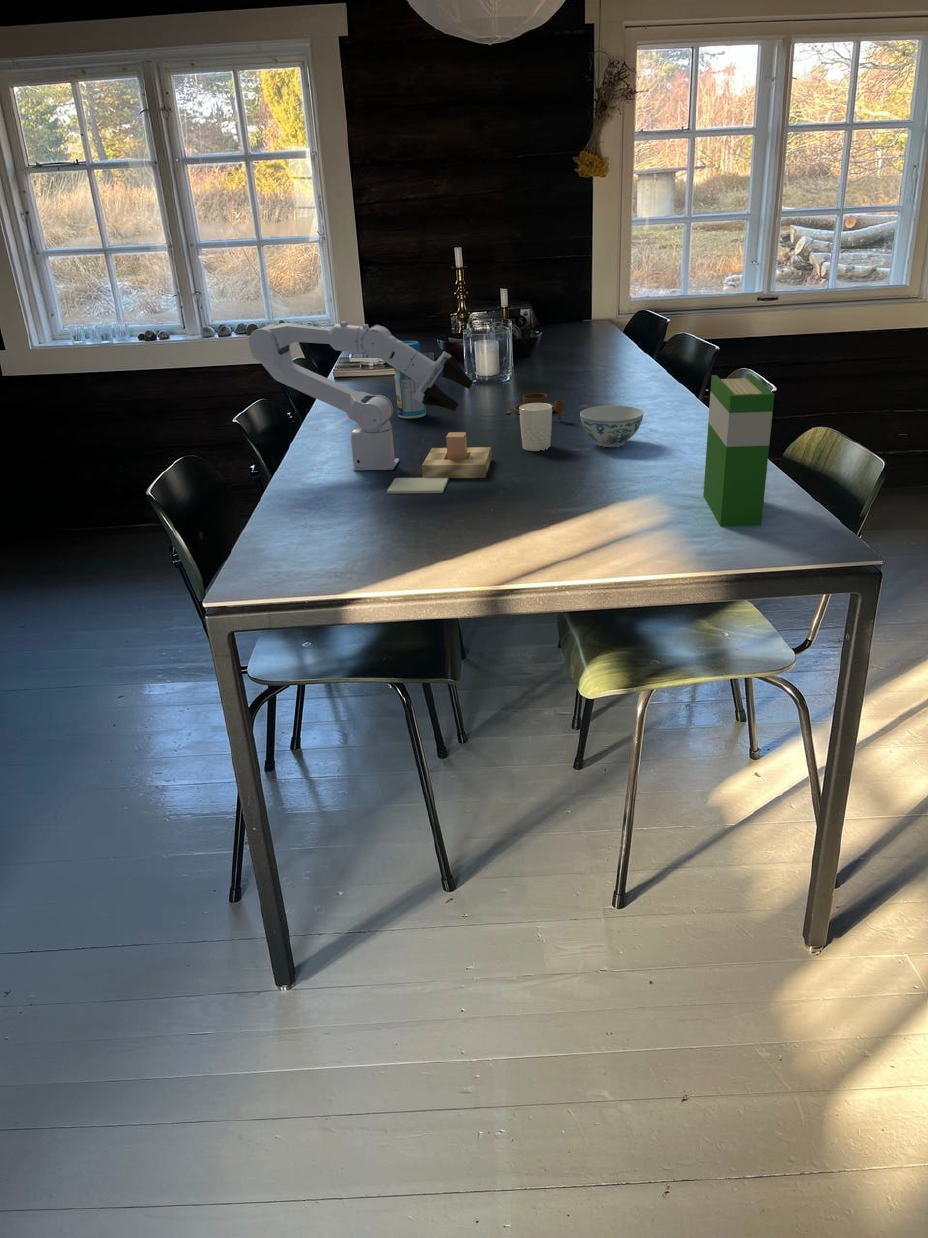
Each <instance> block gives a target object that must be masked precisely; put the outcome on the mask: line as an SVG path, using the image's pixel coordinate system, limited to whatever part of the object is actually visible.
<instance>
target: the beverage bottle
mask: <svg viewBox="0 0 928 1238" xmlns="http://www.w3.org/2000/svg"><path fill="white" fill-rule="evenodd" d="M401 341H402V340H401ZM402 342H404V343H405V344H407V345H408V346H410V347H412V348H413V349H415V350H416V351H418V352H419V353H421V352H420V343H419V341H416V340H415V341H414V340H405V341H404V340H403V341H402ZM393 371H394V377H393V380H394V383H395V384H394V385H395V392H396V402H397V403H396V407H397V416H398V418H401V419H418V418H422V417H424V416H426V415H427V405H424V404H423V403H422V402H423V399H422V401H421V402H419V401H417V400H416V399H414V398H413V397H414V395H415V392H416V391H417V389H418V388H419V386H420V385H421V384H419V383H418V382H416V381H414V380H413V379H411V378H410V377H408V376H407V375H405V374H404V373H402V372H400V371H399V370H397V369H396V368H394V367H393Z"/></svg>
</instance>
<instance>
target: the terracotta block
mask: <svg viewBox="0 0 928 1238" xmlns="http://www.w3.org/2000/svg"><path fill="white" fill-rule="evenodd" d="M445 437H446V438H445V440H446V448H447V460H460V459H467V448H468V446H467V445H468V444H467V443H468V442H467V432H466V431H465V432H464V431H463V432H462V431H458V432H457V431H456V432H453V431H451V432H448V433H447V435H446V436H445Z"/></svg>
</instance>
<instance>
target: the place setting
mask: <svg viewBox="0 0 928 1238" xmlns="http://www.w3.org/2000/svg"><path fill="white" fill-rule="evenodd" d="M548 400H549V399H548V395H547V394H546V393H542V392H541V393H540V392H537V393H536V392H533V393H527V394H524V395H522V403H519V404H516V405H515V406H514V407H513V410H514V413H515V414H517V415H519V414H520V412H519V407H520V406H521V405H524V404H529V403H546V404H550V405H552V407H554V409H552V412H554V411H555V412H556V413H557V417H556V419H557V421H558V420H560V421H562V420H561V419H562V416H561V414H562V413H563V411H564V407H565V403H564V402H565V401H564V400H555V401H554V403H552V402H551V403H550V402H548ZM555 412H554V413H555ZM511 413H512V412H511V409H507V411H505V412H504V413H503V414H504V415H510V414H511Z"/></svg>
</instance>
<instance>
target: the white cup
mask: <svg viewBox="0 0 928 1238" xmlns="http://www.w3.org/2000/svg"><path fill="white" fill-rule="evenodd" d="M519 412H520V415H519V424H520V425H519V426H520V434H521V435H520V436H521V443H522V445H521V446H522V449H523V450H525V451H529V452H541V451H540V450H542V451H546V450H549V449H550V448H551V436H552V424H553V423H552V422H553V419H552V418H553V413H552V405H550V404H546V403H529V404H524V405H521V406H520V407H519ZM549 447H550V448H549ZM548 448H549V449H548ZM545 449H546V450H545Z"/></svg>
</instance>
